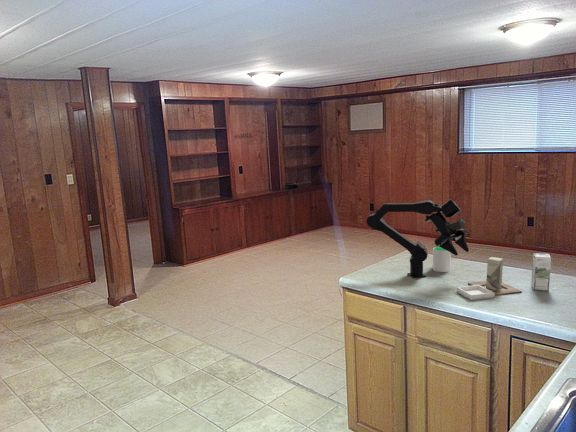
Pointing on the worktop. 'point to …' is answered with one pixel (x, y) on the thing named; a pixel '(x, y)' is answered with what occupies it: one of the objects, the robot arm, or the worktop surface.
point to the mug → (441, 260)
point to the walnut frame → (507, 290)
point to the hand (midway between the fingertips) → (462, 253)
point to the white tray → (475, 292)
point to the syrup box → (541, 271)
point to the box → (494, 273)
